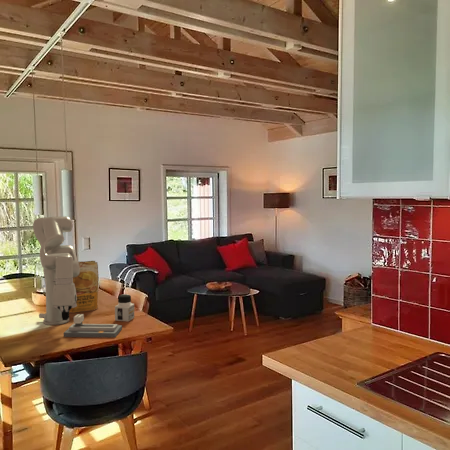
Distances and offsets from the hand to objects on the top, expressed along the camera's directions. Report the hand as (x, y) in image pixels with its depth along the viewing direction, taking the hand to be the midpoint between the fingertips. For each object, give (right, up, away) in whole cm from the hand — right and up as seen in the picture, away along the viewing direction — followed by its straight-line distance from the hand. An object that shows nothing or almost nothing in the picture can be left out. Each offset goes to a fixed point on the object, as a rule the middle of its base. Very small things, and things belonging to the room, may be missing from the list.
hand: (65, 319), depth 199 cm
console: (+13, -7, +1) cm, 15 cm away
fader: (+6, -4, +1) cm, 7 cm away
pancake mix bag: (-5, -4, +40) cm, 41 cm away
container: (+22, -5, +24) cm, 33 cm away
